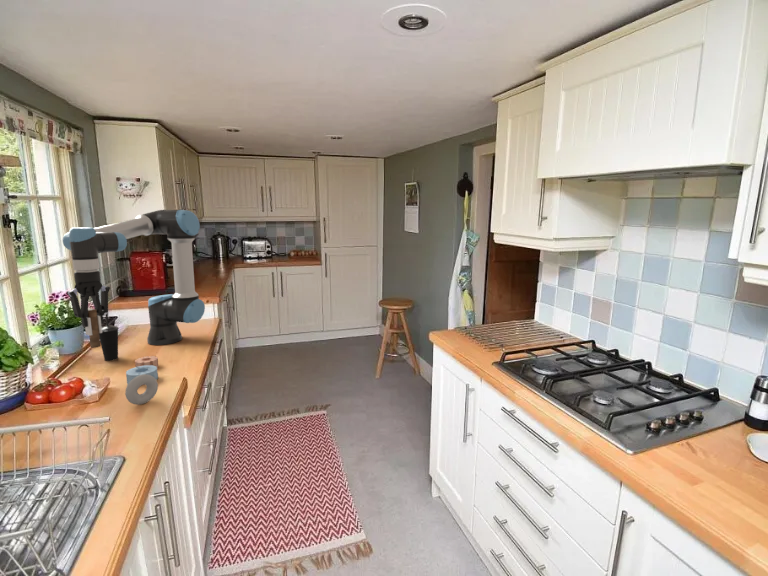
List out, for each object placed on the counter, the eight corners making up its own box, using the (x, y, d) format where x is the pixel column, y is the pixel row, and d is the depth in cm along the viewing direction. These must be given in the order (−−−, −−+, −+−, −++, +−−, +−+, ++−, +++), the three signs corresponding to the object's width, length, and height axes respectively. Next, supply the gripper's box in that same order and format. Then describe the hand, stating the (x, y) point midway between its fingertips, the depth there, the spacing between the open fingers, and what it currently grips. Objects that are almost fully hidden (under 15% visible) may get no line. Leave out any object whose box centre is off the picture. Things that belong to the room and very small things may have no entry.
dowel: (97, 344, 150) (93, 308, 148) (102, 345, 149) (98, 309, 146) (88, 346, 147) (84, 310, 145) (93, 348, 146) (89, 311, 144)
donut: (130, 410, 127) (127, 381, 126) (124, 408, 129) (121, 378, 127) (161, 399, 136) (158, 371, 134) (155, 396, 137) (153, 369, 136)
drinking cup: (111, 362, 169) (106, 317, 165) (96, 361, 170) (90, 315, 167) (126, 356, 176) (121, 312, 173) (111, 355, 178) (106, 311, 174)
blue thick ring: (147, 373, 158) (146, 363, 157) (163, 377, 154) (162, 368, 153) (121, 382, 149) (120, 372, 148) (137, 387, 145) (136, 377, 144)
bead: (146, 363, 169) (145, 355, 168) (162, 364, 167) (162, 356, 166) (131, 370, 161) (130, 361, 160) (148, 371, 159) (147, 363, 159)
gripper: (104, 267, 152) (110, 327, 156) (55, 272, 138) (64, 337, 142) (115, 269, 148) (122, 329, 152) (67, 274, 135) (75, 340, 139)
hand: (94, 333), depth 147 cm, fingers closed on dowel, 3 cm apart
